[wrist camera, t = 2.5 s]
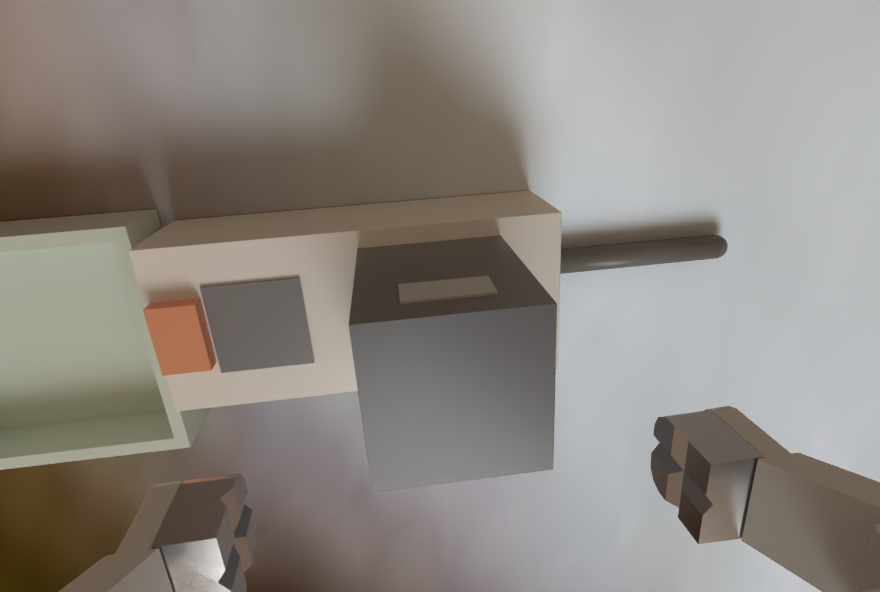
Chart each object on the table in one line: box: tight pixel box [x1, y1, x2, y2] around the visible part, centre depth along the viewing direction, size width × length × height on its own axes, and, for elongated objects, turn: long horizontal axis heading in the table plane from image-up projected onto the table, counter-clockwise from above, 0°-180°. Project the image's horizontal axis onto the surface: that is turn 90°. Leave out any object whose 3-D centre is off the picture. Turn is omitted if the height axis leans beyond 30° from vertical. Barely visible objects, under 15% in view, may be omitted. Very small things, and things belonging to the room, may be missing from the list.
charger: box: [349, 235, 557, 493], centre depth 17 cm, size 5×5×9 cm
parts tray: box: [0, 209, 210, 470], centre depth 20 cm, size 9×9×3 cm
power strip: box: [128, 190, 728, 411], centre depth 20 cm, size 22×6×5 cm, turn 93°
